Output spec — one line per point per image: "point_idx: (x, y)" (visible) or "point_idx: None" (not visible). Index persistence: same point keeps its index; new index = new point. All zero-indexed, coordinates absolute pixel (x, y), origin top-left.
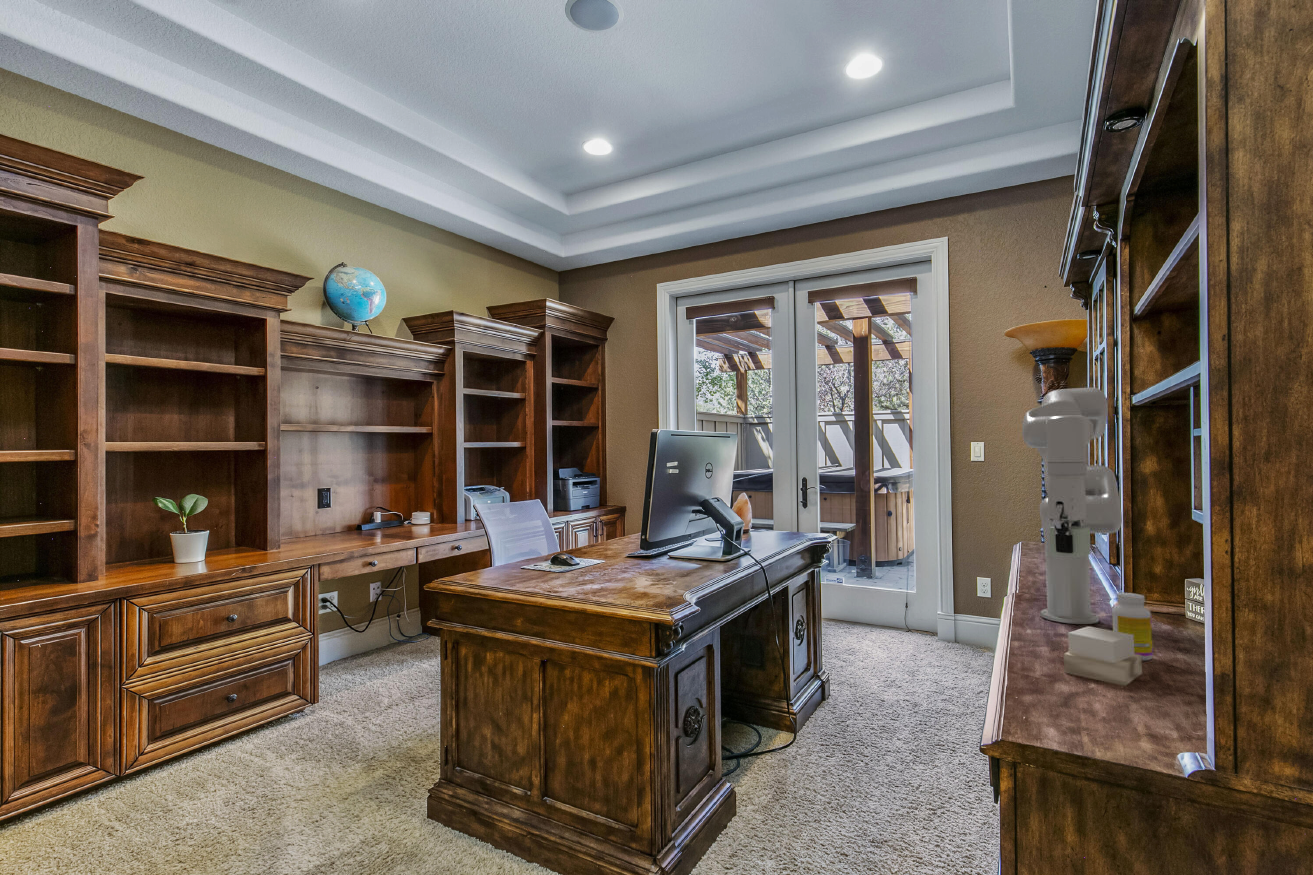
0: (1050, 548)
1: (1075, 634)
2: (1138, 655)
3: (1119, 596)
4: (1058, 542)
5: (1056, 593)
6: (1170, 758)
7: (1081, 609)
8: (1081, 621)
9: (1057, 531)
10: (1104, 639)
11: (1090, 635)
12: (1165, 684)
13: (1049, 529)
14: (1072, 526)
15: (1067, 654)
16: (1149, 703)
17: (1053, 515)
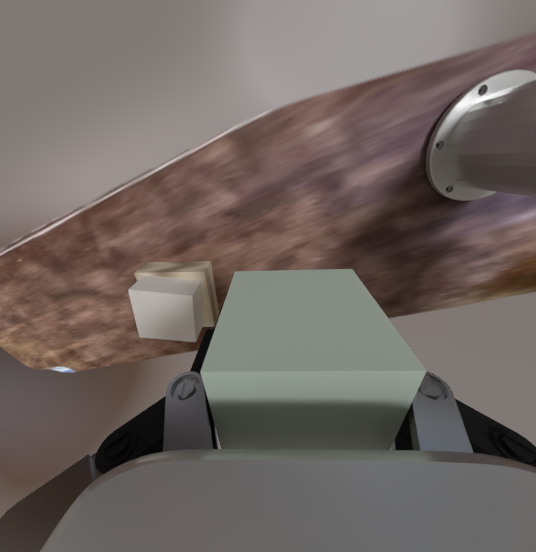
0: (231, 284)
1: (130, 298)
2: (209, 325)
3: None
4: (200, 346)
5: (500, 125)
6: (48, 365)
7: (466, 182)
8: (433, 185)
9: (156, 405)
10: (141, 328)
11: (143, 312)
12: (202, 332)
13: (205, 358)
14: (358, 432)
15: (137, 276)
16: (136, 336)
17: None
